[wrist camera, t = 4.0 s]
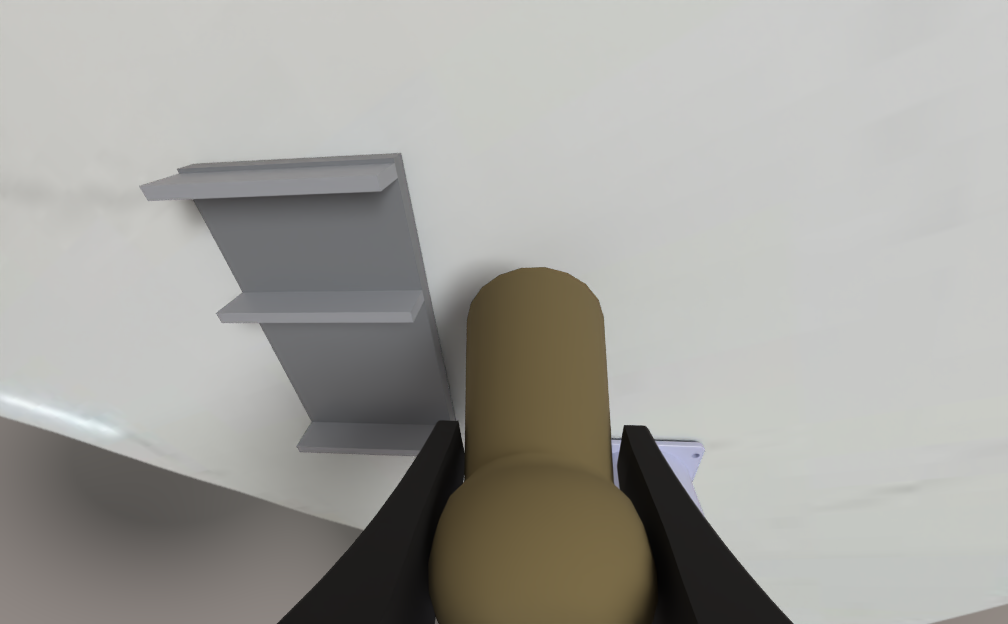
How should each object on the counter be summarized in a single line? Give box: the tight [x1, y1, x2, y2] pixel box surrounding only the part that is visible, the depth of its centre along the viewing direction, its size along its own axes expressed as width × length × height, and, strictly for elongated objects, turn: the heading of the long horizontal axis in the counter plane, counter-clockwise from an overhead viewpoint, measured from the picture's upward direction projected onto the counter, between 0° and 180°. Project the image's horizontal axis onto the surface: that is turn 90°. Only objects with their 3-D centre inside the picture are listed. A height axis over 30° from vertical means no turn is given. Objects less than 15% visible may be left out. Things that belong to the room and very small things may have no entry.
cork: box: [428, 267, 658, 624], centre depth 12 cm, size 6×6×11 cm
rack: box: [139, 153, 456, 456], centre depth 20 cm, size 18×10×3 cm, turn 4°
